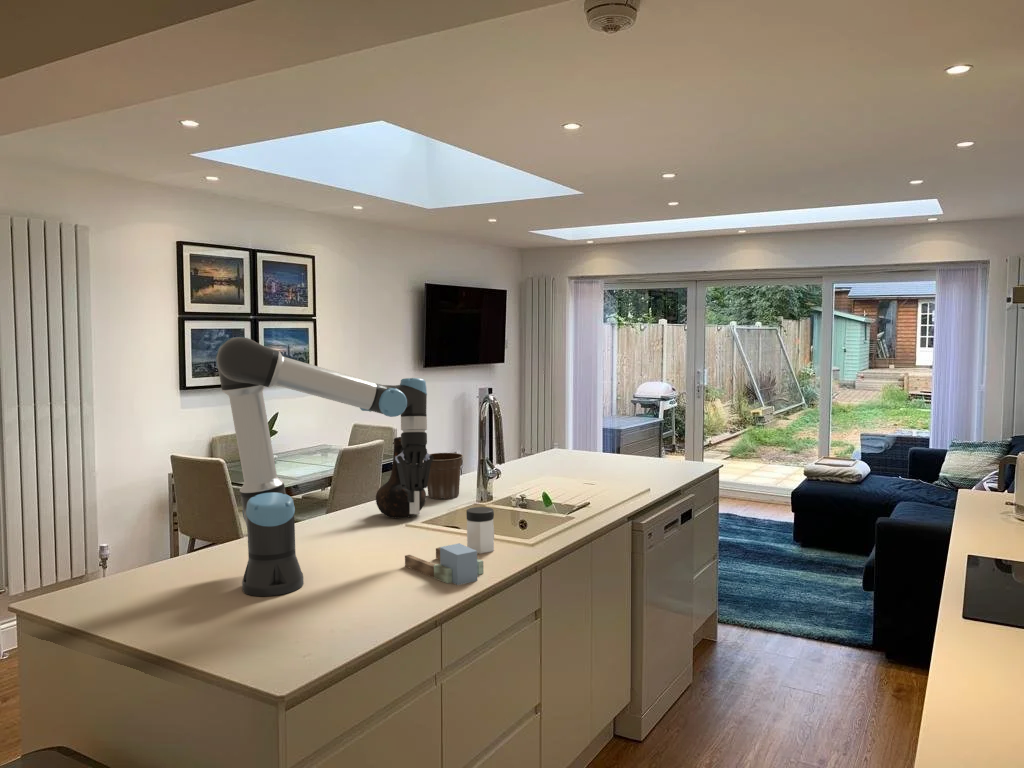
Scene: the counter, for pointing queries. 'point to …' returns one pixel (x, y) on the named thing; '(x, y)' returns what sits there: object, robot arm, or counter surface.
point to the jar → (480, 529)
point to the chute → (435, 567)
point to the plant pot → (444, 475)
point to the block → (460, 562)
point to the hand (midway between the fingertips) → (414, 513)
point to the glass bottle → (396, 492)
